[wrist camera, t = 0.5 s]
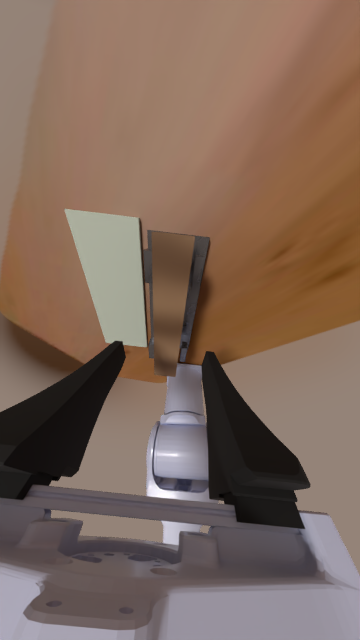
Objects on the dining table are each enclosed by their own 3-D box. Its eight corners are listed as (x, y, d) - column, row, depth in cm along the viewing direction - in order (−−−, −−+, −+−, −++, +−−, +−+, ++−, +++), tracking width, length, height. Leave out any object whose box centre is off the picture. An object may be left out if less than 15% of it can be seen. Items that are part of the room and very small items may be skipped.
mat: (147, 345, 26) (146, 347, 25) (107, 341, 25) (106, 342, 25) (139, 218, 14) (138, 217, 14) (67, 209, 14) (64, 208, 14)
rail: (177, 359, 22) (175, 377, 20) (158, 357, 22) (154, 374, 20) (193, 236, 12) (195, 236, 9) (159, 231, 12) (151, 231, 9)
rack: (188, 346, 25) (187, 368, 21) (152, 342, 25) (145, 363, 21) (209, 237, 15) (216, 239, 11) (148, 230, 15) (134, 229, 11)
